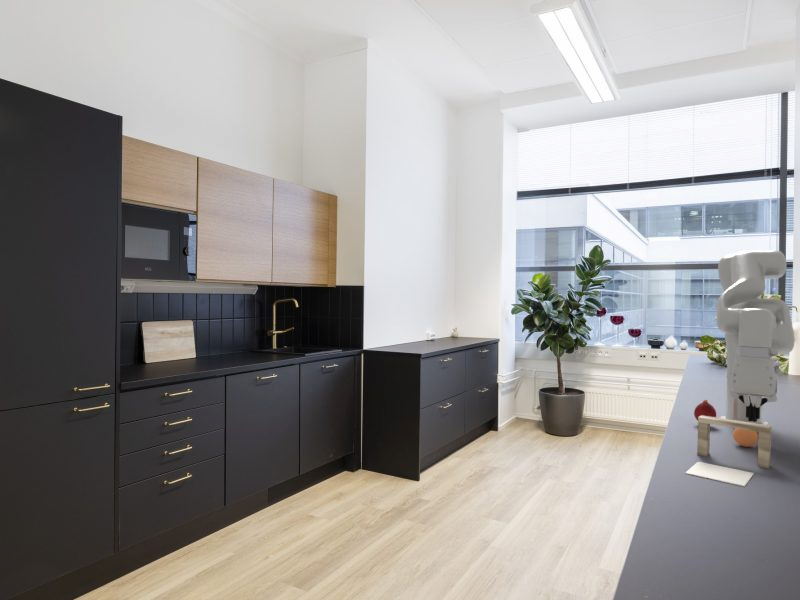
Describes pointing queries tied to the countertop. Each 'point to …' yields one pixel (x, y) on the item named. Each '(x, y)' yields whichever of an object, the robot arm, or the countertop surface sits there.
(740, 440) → the ball
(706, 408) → the onion
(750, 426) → the bridge
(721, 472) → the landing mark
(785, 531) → the countertop surface
